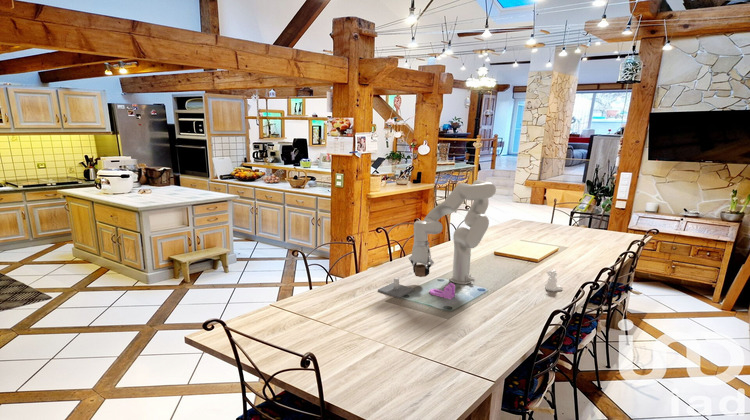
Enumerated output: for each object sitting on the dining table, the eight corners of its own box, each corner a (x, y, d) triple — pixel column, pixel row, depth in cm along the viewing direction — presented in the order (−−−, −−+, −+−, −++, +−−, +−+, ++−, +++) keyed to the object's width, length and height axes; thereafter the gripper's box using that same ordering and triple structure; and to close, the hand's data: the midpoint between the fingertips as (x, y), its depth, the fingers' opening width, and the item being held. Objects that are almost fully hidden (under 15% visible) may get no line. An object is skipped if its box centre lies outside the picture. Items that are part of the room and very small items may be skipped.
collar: (429, 273, 230) (429, 265, 229) (423, 277, 225) (423, 269, 224) (419, 271, 235) (419, 263, 234) (412, 275, 229) (412, 266, 228)
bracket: (454, 296, 216) (455, 283, 214) (450, 299, 211) (451, 286, 210) (432, 290, 223) (433, 278, 222) (427, 293, 218) (428, 281, 217)
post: (414, 290, 222) (414, 278, 220) (399, 298, 211) (399, 285, 210) (393, 284, 230) (393, 272, 229) (377, 291, 220) (378, 278, 218)
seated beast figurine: (563, 289, 228) (565, 269, 225) (557, 294, 221) (560, 273, 219) (546, 285, 234) (548, 265, 232) (540, 289, 228) (542, 268, 225)
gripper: (437, 243, 223) (438, 274, 227) (411, 239, 234) (412, 268, 238) (430, 247, 218) (431, 278, 221) (404, 242, 229) (404, 272, 232)
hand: (421, 273), depth 230 cm, fingers closed on collar, 7 cm apart
